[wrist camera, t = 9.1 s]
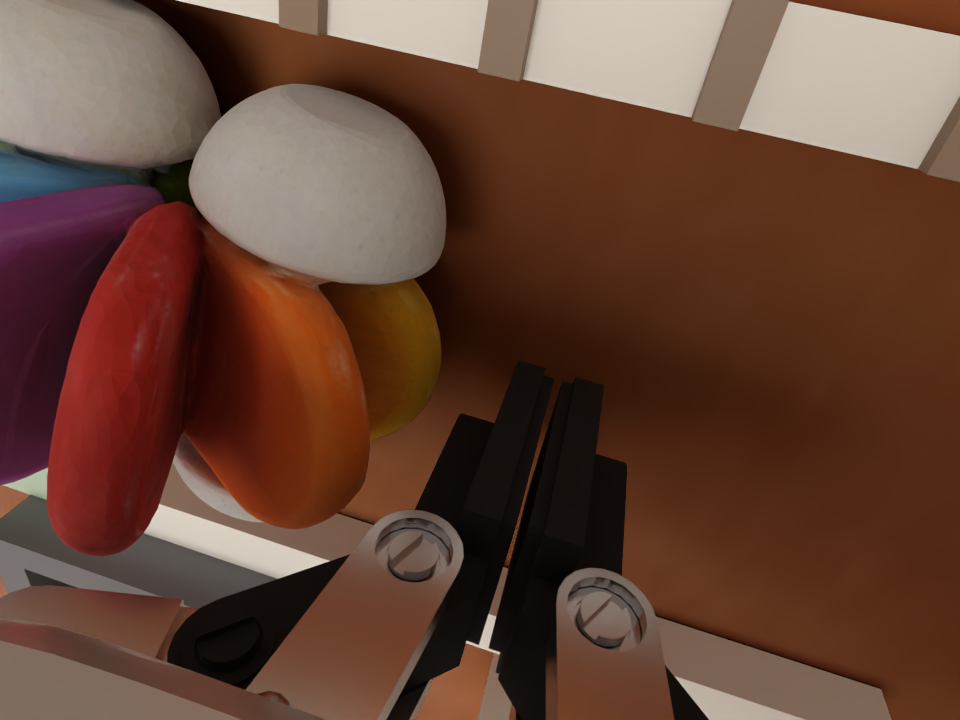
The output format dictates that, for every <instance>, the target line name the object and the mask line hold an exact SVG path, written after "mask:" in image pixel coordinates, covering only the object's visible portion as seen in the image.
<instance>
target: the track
mask: <svg viewBox="0 0 960 720" xmlns="http://www.w3.org/2000/svg"><path fill="white" fill-rule="evenodd" d="M177 1H181V2H185V3H190V4H194V5H199V6H203V7H207V8H212V9H216V10H221V11H225V12H229V13H234V14H238V15H243V16H247V17H251V18H256V19H260V20H265V21H269V22H273V23H278V24H279V27H282V28H286V29H291V30H295V31H299V32H304V33H308V34H313V35H317V36H319V35H331V36H335V37H339V38H344V39H348V40H352V41H357V42H361V43H366V44H370V45H374V46H379V47H383V48H388V49H392V50H396V51H401V52H405V53H410V54H414V55H418V56H423V57H427V58H432V59H436V60H440V61H445V62H449V63H454V64H458V65H462V66H467V67H471V68H476V69H478V71H477V72H479V73H484V74H488V75H492V76H497V77H501V78H506V79H510V80H514V81H521V80H522V79H524V80H528V81H533V82H537V83H542V84H546V85H550V86H555V87H559V88H564V89H568V90H572V91H577V92H581V93H586V94H590V95H594V96H599V97H603V98H607V99H612V100H616V101H621V102H625V103H629V104H634V105H638V106H643V107H647V108H651V109H656V110H660V111H665V112H669V113H673V114H678V115H682V116H687V117H691V118H692V121H694V122H698V123H703V124H707V125H712V126H716V127H720V128H725V129H729V130H734V131H738V129H744V130H748V131H753V132H757V133H761V134H766V135H770V136H775V137H779V138H783V139H788V140H792V141H797V142H801V143H805V144H810V145H814V146H819V147H823V148H827V149H832V150H836V151H841V152H845V153H849V154H854V155H858V156H863V157H867V158H871V159H876V160H880V161H884V162H889V163H893V164H898V165H902V166H906V167H911V168H915V169H918V170H920V171H922V172H923V173H925V174H927V175H931V176H935V177H940V178H944V179H948V180H953V181H957V182H960V36H957V35H952V34H947V33H943V32H938V31H933V30H928V29H923V28H918V27H913V26H908V25H903V24H898V23H893V22H888V21H883V20H878V19H873V18H868V17H863V16H858V15H853V14H848V13H843V12H838V11H834V10H829V9H824V8H819V7H814V6H809V5H804V4H799V3H794V2H789V0H177ZM47 473H48V468H46V469H44V470H41V471H39V472H37V473H35V474H33V475H31V476H28V477H26V478H23V479H21V480H18V481H15V482H12V483H8V484H4V486H7V487H10V488H13V489H16V490H19V491H22V492H24V493H27V494H30V495H33V496H36V497H39V498H42V499H45V500H47ZM372 526H374V525H372V524H369V523H366V522H363V521H360V520H357V519H353V518H350V517H347V516H344V515H341V514H338V513H337V514H335V515H334V516H332V517H331V518H329V519H327V520H325V521H323V522H321V523H318V524H316V525H314V526H311V527H308V528H303V529H287V528H281V527H276V526H273V525H270V524H266V523H263V522H252V521H245V520H241V519H237V518H234V517H231V516H228V515H226V514H224V513H221V512H219V511H218V510H216V509H214V508H212V507H211V506H209V505H208V504H207V503H205V502H204V501H202V500H201V499H200V498H199V497H197V496H196V495H195V494H194V493H193V492H192V491H191V490H190V488H189V487H188V486H187V485H186V484H185V482H184V481H183V479H182V478H181V476H180V474H179V473H178V471H177V469H176V467H175V465H174V462H172V465H171V468H170V472H169V475H168V478H167V481H166V484H165V487H164V490H163V493H162V497H161V500H160V503H159V506H158V509H157V511H156V513H155V514H154V516H153V518H152V520H151V522H150V524H149V526H148V527H147V529H146V530H145V532H144V533H145V534H148V535H151V536H153V537H156V538H159V539H162V540H165V541H168V542H171V543H174V544H177V545H180V546H183V547H186V548H189V549H192V550H194V551H197V552H200V553H203V554H206V555H209V556H212V557H215V558H218V559H221V560H224V561H227V562H230V563H233V564H236V565H238V566H241V567H244V568H247V569H250V570H253V571H256V572H259V573H262V574H265V575H268V576H271V577H274V578H277V579H279V578H282V577H285V576H288V575H290V574H293V573H296V572H299V571H302V570H305V569H308V568H311V567H314V566H317V565H320V564H323V563H326V562H329V561H332V560H335V559H337V558H340V557H343V556H346V555H349V554H351V553H352V552H353V551H354V549H355V548H356V547H357V545H358V544H359V543H360V542H361V540H362V539H363V538H364V536H365V535H366V534H367V533H368V531H369V530H370V529H371V527H372ZM507 572H508V568H505V567H503V569H502V573H501V576H500V579H499V582H498V585H497V589H496V592H495V595H494V598H493V601H492V605H491V608H490V611H489V614H488V617H487V621H486V624H485V627H484V630H483V633H482V637H481V640H480V643H479V645H477V644H474V643H472V642H469V641H466V643H467V644H470V645H473V646H476V647H479V648H482V649H485V650H488V651H491V652H493V653H496V654H499V655H500V652H498V651H495V650H492V649H489V644H490V640H491V636H492V632H493V628H494V624H495V620H496V616H497V612H498V608H499V604H500V600H501V596H502V592H503V588H504V584H505V580H506V576H507ZM656 619H657V622H658V628H659V633H660V639H661V645H662V651H663V657H664V662H665V665H666V666H667V668H668V669H669V670H670V671H671V673H672V674H673V675H674V676H675V678H676V679H677V680H678V681H679V683H680V684H681V685H682V686H683V688H684V689H685V690H686V691H687V693H688V694H689V695H690V696H691V698H692V699H693V700H694V701H695V703H696V704H697V705H698V706H699V708H700V709H701V710H702V711H703V713H704V714H705V715H706V716H707V718H708V719H709V720H891V717H890V714H889V711H888V708H887V705H886V702H885V699H884V696H883V693H882V690H881V689H879V688H876V687H872V686H869V685H866V684H863V683H860V682H857V681H854V680H851V679H848V678H845V677H842V676H838V675H835V674H832V673H829V672H826V671H823V670H820V669H817V668H814V667H811V666H808V665H804V664H801V663H798V662H795V661H792V660H789V659H786V658H783V657H780V656H777V655H774V654H770V653H767V652H764V651H761V650H758V649H755V648H752V647H749V646H746V645H743V644H740V643H737V642H733V641H730V640H727V639H724V638H721V637H718V636H715V635H712V634H709V633H706V632H703V631H699V630H696V629H693V628H690V627H687V626H684V625H681V624H678V623H675V622H672V621H669V620H665V619H662V618H659V617H656Z"/></svg>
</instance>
